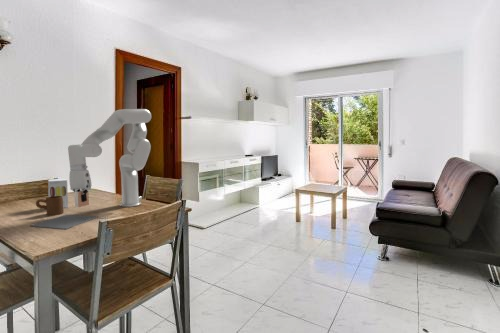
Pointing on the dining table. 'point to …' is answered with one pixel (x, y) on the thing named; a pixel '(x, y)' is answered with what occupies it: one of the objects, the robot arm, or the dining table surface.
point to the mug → (52, 205)
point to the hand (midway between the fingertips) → (82, 201)
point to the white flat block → (78, 199)
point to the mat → (64, 221)
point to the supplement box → (58, 189)
